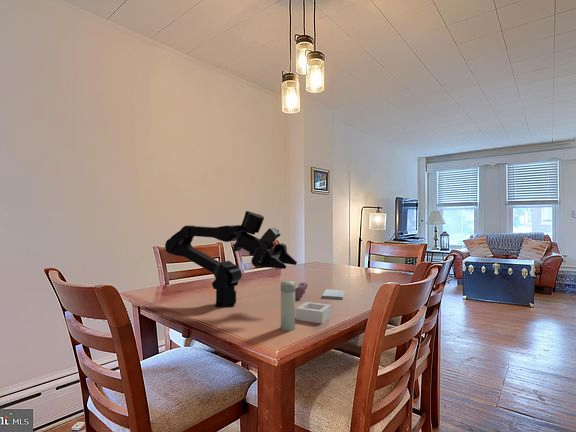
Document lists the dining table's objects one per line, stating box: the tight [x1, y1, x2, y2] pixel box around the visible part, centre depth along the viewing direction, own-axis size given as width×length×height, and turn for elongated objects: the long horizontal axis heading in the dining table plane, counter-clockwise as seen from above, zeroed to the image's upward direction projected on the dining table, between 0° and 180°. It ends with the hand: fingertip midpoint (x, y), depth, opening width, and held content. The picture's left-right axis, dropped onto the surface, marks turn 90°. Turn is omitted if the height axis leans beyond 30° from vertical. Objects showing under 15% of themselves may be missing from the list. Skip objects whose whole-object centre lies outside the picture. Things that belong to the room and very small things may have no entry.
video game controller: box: [295, 281, 308, 300], centre depth 127 cm, size 10×5×7 cm, turn 169°
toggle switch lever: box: [280, 280, 297, 332], centre depth 91 cm, size 4×4×13 cm
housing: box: [295, 301, 333, 325], centre depth 101 cm, size 9×9×4 cm
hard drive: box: [321, 288, 346, 301], centre depth 130 cm, size 2×8×12 cm
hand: (291, 265), depth 106 cm, fingers open, 9 cm apart
